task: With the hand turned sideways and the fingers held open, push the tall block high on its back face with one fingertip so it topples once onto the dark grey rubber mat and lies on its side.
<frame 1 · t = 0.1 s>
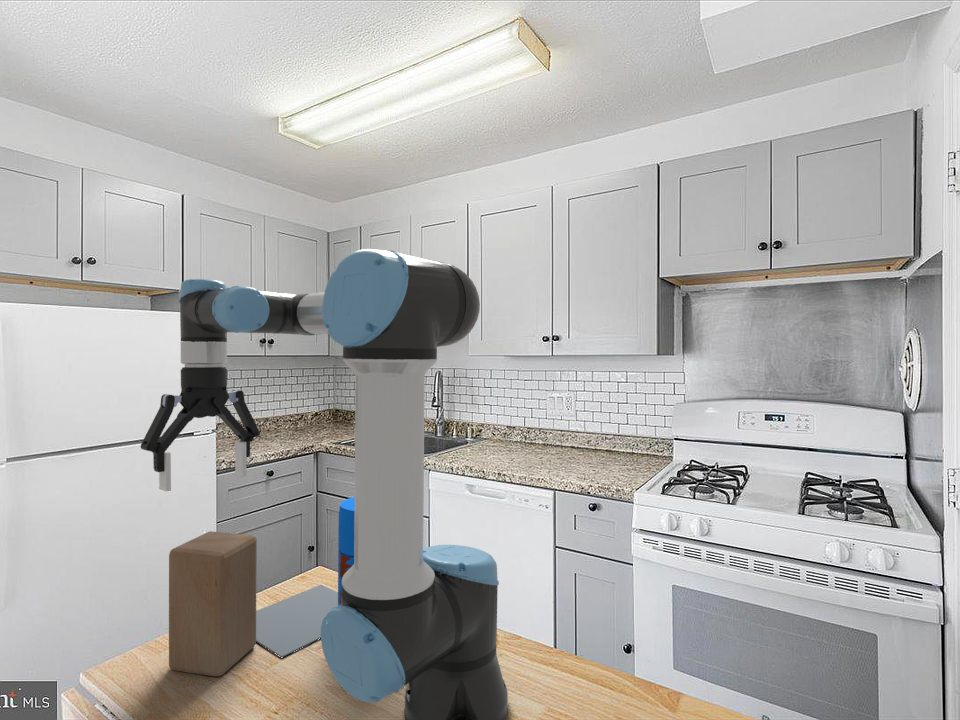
hand: (205, 482, 98), 28 cm above the countertop, tool pointing down, fingers open, 13 cm apart
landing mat: (303, 617, 105), on the countertop
block: (214, 659, 91), on the countertop
thermos: (368, 641, 97), on the countertop
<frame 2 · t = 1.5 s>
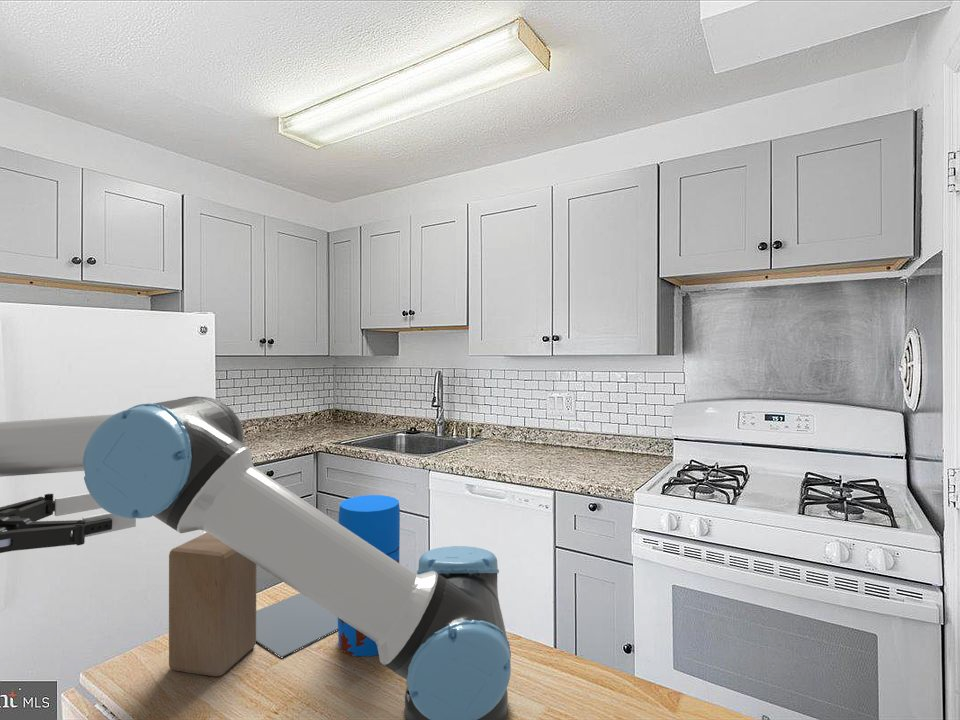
hand: (118, 507, 85), 27 cm above the countertop, tool horizontal, fingers open, 13 cm apart
nothing on the countertop moved.
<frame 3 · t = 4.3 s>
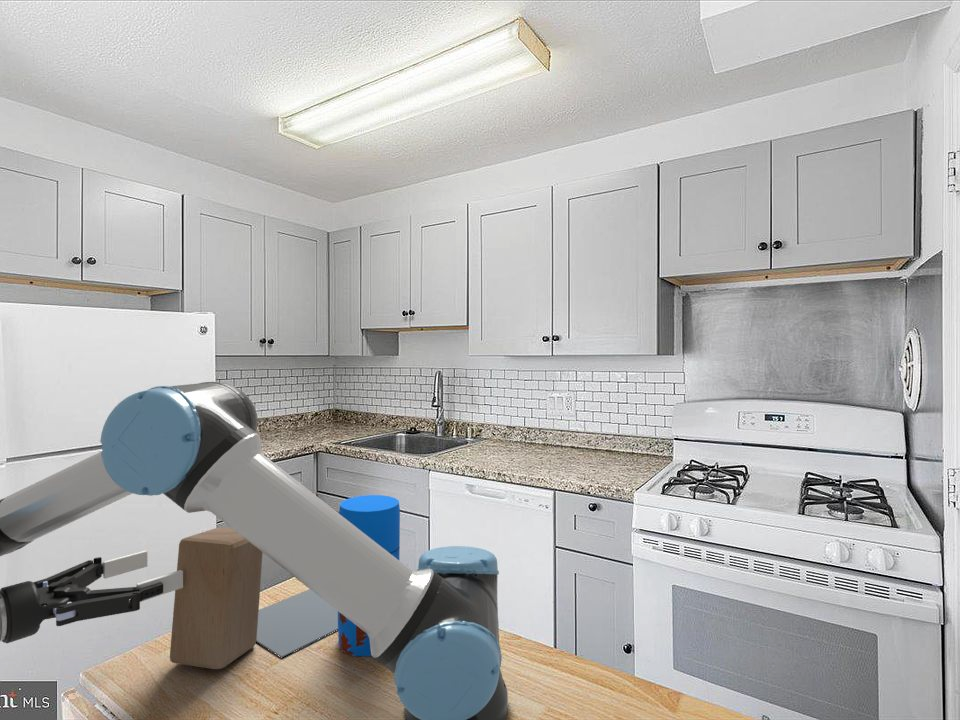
hand: (163, 568, 91), 15 cm above the countertop, tool horizontal, fingers open, 13 cm apart
block: (214, 656, 91), on the countertop, touching gripper
everything else where it was.
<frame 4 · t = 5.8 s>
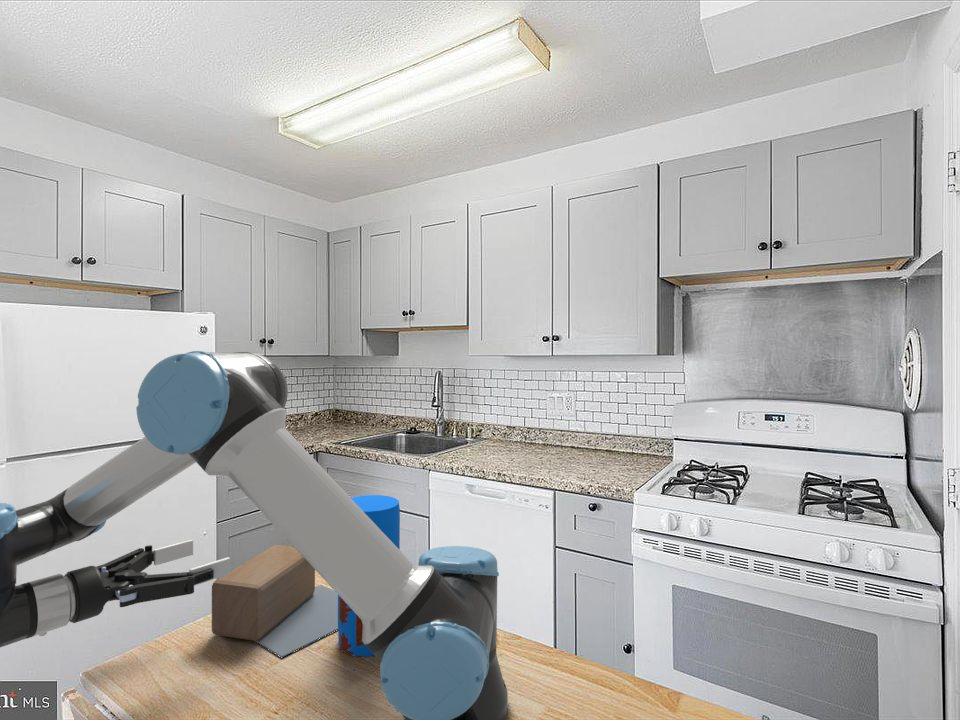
hand: (210, 555, 97), 15 cm above the countertop, tool horizontal, fingers open, 13 cm apart
block: (232, 612, 95), point 5 cm above the countertop, touching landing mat
everything else where it was.
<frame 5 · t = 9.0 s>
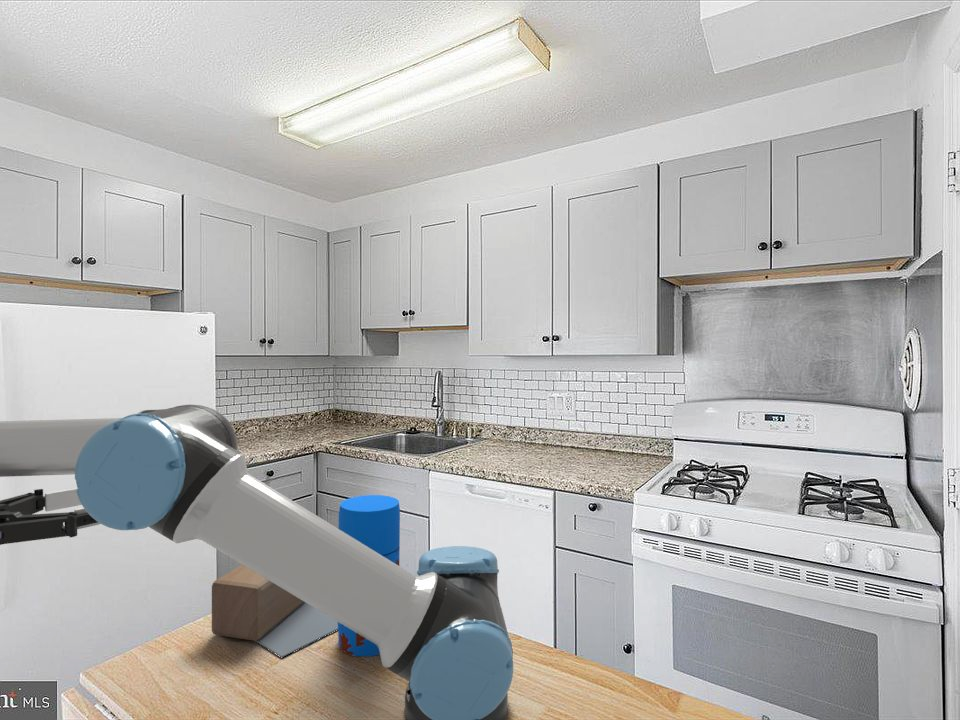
hand: (111, 500, 84), 28 cm above the countertop, tool horizontal, fingers open, 13 cm apart
nothing on the countertop moved.
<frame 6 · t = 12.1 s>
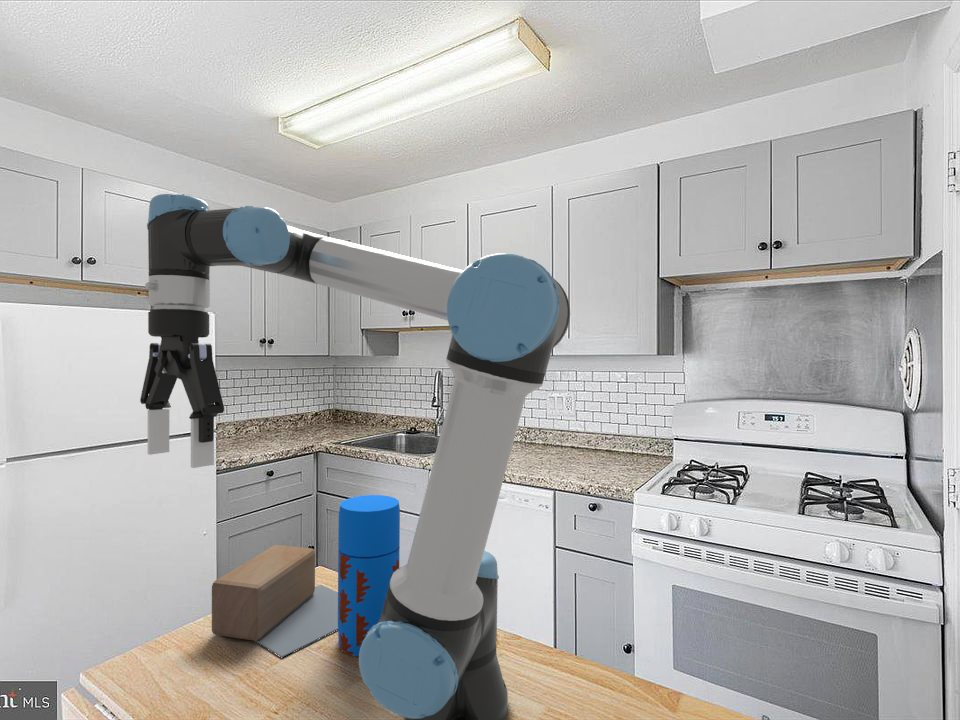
hand: (179, 459, 76), 37 cm above the countertop, tool pointing down, fingers open, 13 cm apart
nothing on the countertop moved.
at the end: block tilted 90°; block touching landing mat; block inside the target area (2.8 cm from its centre), point 5.4 cm above the countertop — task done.
